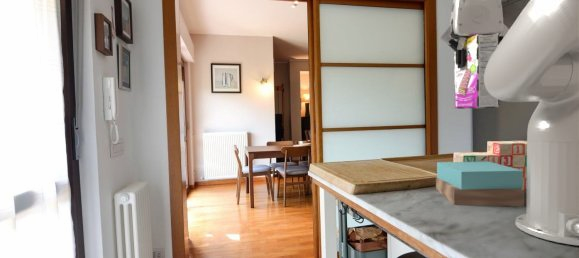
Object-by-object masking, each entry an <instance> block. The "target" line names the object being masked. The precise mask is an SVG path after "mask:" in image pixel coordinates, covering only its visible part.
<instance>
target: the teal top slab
mask: <svg viewBox="0 0 579 258" xmlns="http://www.w3.org/2000/svg"><path fill="white" fill-rule="evenodd" d="M436 172H437V173H436V177H437V178H439V179H441V180H443V181H445V182H447V183H449V184H451V185H453V186H455V187H457V188H459V189H461V190H470V189H523V171H522V170H518V169H515V168H511V167H507V166H504V165H500V164H496V163H492V162H489V161H483V162H453V161H440V162H439V161H438V162H436Z"/></svg>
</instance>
